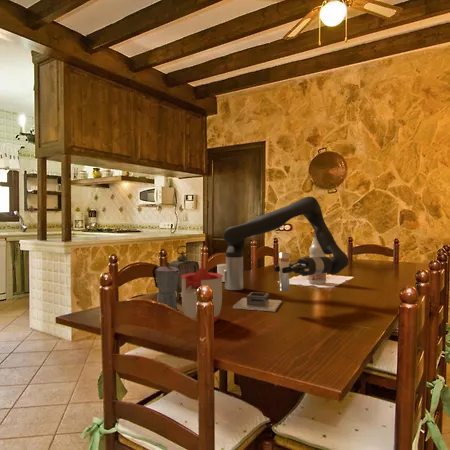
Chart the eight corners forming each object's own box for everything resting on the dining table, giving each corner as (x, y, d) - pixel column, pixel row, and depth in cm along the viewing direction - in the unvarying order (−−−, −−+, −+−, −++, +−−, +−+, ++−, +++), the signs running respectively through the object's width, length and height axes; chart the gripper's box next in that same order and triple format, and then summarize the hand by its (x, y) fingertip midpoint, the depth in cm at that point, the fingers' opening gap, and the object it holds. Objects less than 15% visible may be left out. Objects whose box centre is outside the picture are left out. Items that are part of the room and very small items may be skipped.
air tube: (278, 290, 144) (278, 253, 143) (280, 288, 148) (280, 252, 147) (288, 291, 143) (288, 253, 142) (290, 289, 147) (290, 252, 146)
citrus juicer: (171, 325, 130) (170, 269, 129) (192, 313, 146) (192, 263, 146) (210, 330, 124) (210, 272, 124) (229, 317, 140) (228, 265, 140)
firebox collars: (232, 308, 153) (232, 297, 153) (242, 299, 168) (242, 289, 168) (275, 311, 148) (275, 300, 147) (281, 302, 163) (281, 291, 163)
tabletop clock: (176, 301, 165) (176, 247, 165) (164, 298, 171) (163, 246, 171) (199, 296, 176) (199, 245, 175) (187, 293, 182) (187, 244, 181)
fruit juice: (305, 283, 209) (305, 234, 208) (314, 281, 215) (314, 233, 214) (320, 285, 202) (320, 235, 201) (328, 283, 208) (329, 234, 208)
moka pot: (172, 315, 143) (171, 264, 142) (143, 310, 151) (143, 262, 150) (187, 310, 151) (186, 262, 150) (159, 305, 159) (158, 259, 158)
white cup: (232, 280, 217) (232, 264, 217) (227, 283, 210) (227, 266, 209) (219, 280, 220) (219, 263, 219) (215, 282, 212) (215, 265, 212)
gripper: (298, 255, 158) (267, 258, 149) (323, 259, 146) (291, 262, 137) (298, 272, 159) (267, 276, 150) (323, 277, 147) (291, 282, 138)
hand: (279, 269), depth 144 cm, fingers closed on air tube, 4 cm apart
